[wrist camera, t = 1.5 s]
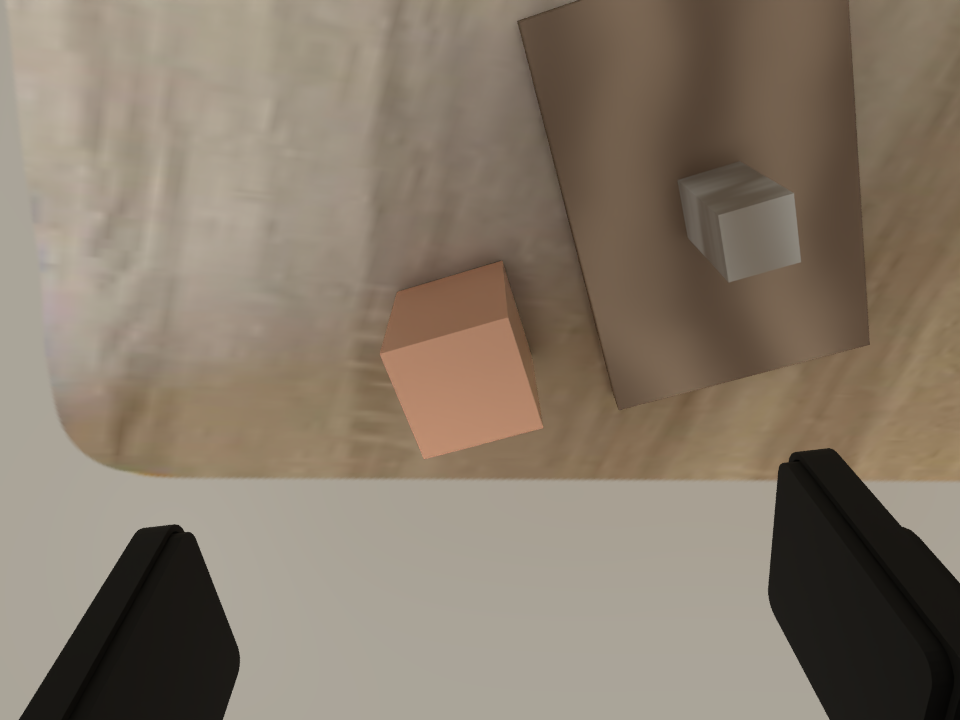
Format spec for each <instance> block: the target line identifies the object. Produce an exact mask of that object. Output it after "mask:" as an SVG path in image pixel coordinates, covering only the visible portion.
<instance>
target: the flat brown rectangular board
mask: <svg viewBox="0 0 960 720" xmlns="http://www.w3.org/2000/svg"><path fill="white" fill-rule="evenodd" d="M517 22H518V25H519V29H520V33H521V37H522V41H523V45H524V49H525V53H526V57H527V60H528V64H529V68H530V72H531V76H532V80H533V84H534V88H535V92H536V95H537V99H538V103H539V107H540V111H541V115H542V119H543V123H544V126H545V130H546V134H547V138H548V142H549V146H550V150H551V154H552V158H553V161H554V165H555V169H556V173H557V177H558V181H559V185H560V189H561V193H562V196H563V200H564V204H565V208H566V212H567V216H568V220H569V224H570V228H571V231H572V235H573V239H574V243H575V247H576V251H577V255H578V259H579V263H580V266H581V270H582V274H583V278H584V282H585V286H586V290H587V294H588V298H589V301H590V305H591V309H592V313H593V317H594V321H595V325H596V329H597V332H598V336H599V340H600V344H601V348H602V352H603V356H604V360H605V364H606V367H607V371H608V375H609V379H610V383H611V387H612V391H613V395H614V398H615V400H616V403H617V406H618V409H619V410H622V409H626V408H630V407H633V406H637V405H641V404H645V403H649V402H653V401H656V400H660V399H664V398H668V397H672V396H675V395H679V394H683V393H687V392H691V391H695V390H698V389H702V388H706V387H710V386H714V385H717V384H721V383H725V382H729V381H733V380H737V379H740V378H744V377H748V376H752V375H756V374H759V373H763V372H767V371H771V370H775V369H779V368H782V367H786V366H790V365H794V364H798V363H801V362H805V361H809V360H813V359H817V358H821V357H824V356H828V355H832V354H836V353H840V352H844V351H847V350H851V349H855V348H859V347H863V346H866V345H870V342H869V326H868V309H867V293H866V277H865V260H864V244H863V228H862V212H861V195H860V179H859V163H858V147H857V130H856V114H855V98H854V81H853V65H852V49H851V33H850V16H849V0H578V1H575V2H572V3H569V4H566V5H563V6H560V7H557V8H554V9H552V10H549V11H546V12H543V13H540V14H537V15H534V16H531V17H528V18H525V19H522V20H520V21H517Z"/></svg>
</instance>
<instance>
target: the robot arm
mask: <svg viewBox="0 0 960 720" xmlns="http://www.w3.org/2000/svg"><path fill="white" fill-rule="evenodd" d="M768 595H769V601H770V605H771V608H772V611H773V613H774V615H775V617H776V619H777V621H778V623H779V625H780V627H781V629H782V630H783V632H784V634H785V636H786V638H787V640H788V642H789V644H790V645H791V648H792V649H793V651H794V653H795V655H796V657H797V659H798V661H799V663H800V665H801V666H802V668H803V670H804V672H805V674H806V676H807V678H808V680H809V682H810V683H811V685H812V687H813V689H814V691H815V693H816V695H817V697H818V698H819V700H820V702H821V704H822V706H823V708H824V710H825V712H826V714H827V715H828V717H829V719H830V720H960V583H959V582H958V581H957V579H955V577H954V576H953V575H952V574H951V573H950V572H949V570H948V569H947V568H946V567H945V566H944V565H943V564H942V563H941V561H940V560H939V559H938V558H937V557H936V556H935V555H934V554H933V553H932V551H931V550H930V549H929V548H928V547H927V546H926V545H925V544H924V542H923V541H922V540H921V539H920V538H919V537H918V536H917V535H916V534H915V533H914V532H912V531H911V530H909V529H906V528H904V527H901V525H899V523H898V522H897V521H896V520H895V519H894V517H893V516H892V515H891V514H890V513H889V512H888V510H887V509H885V507H884V506H883V505H882V504H881V502H880V501H879V500H878V499H877V498H876V497H875V496H874V494H873V493H872V492H871V491H870V490H869V489H868V488H867V486H866V485H865V484H864V483H863V482H862V481H861V480H860V478H859V477H858V476H857V475H856V474H855V473H854V471H853V470H852V469H851V468H850V467H849V466H848V465H847V463H846V462H845V461H844V460H843V459H842V458H841V457H840V455H839V454H838V453H837V452H836V451H834V450H833V449H830V448H827V449H818V450H810V451H801V452H794V453H792V454H791V456H790V458H789V462H788V463H782V464H781V465H780V466H779V470H778V481H777V492H776V504H775V515H774V528H773V539H772V550H771V562H770V575H769V586H768ZM239 666H240V655H239V649H238V646H237V644H236V641H235V638H234V636H233V634H232V631H231V628H230V626H229V623H228V620H227V618H226V615H225V613H224V610H223V608H222V605H221V602H220V600H219V597H218V595H217V592H216V590H215V587H214V584H213V582H212V579H211V577H210V574H209V572H208V569H207V566H206V564H205V562H204V559H203V556H202V554H201V551H200V548H199V546H198V543H197V541H196V538H195V537H194V535H193V534H192V533H190V532H184V530H183V529H182V528H181V527H180V526H179V525H175V524H174V525H166V526H157V527H149V528H142V529H140V530H138V531H137V532H136V533H135V534H134V536H133V537H132V539H131V541H130V542H129V544H128V545H127V547H126V549H125V550H124V552H123V554H122V555H121V557H120V558H119V560H118V562H117V563H116V565H115V566H114V568H113V570H112V571H111V573H110V574H109V576H108V578H107V579H106V581H105V582H104V584H103V586H102V587H101V589H100V590H99V592H98V594H97V595H96V597H95V599H94V600H93V602H92V603H91V605H90V607H89V608H88V610H87V611H86V613H85V614H84V616H83V618H82V619H81V621H80V623H79V624H78V626H77V628H76V629H75V631H74V632H73V634H72V635H71V637H70V639H69V640H68V642H67V644H66V645H65V647H64V648H63V650H62V651H61V653H60V655H59V656H58V658H57V659H56V661H55V663H54V665H53V666H52V668H51V669H50V671H49V673H48V674H47V676H46V677H45V679H44V680H43V682H42V684H41V685H40V687H39V688H38V690H37V692H36V693H35V695H34V697H33V698H32V700H31V701H30V703H29V705H28V706H27V708H26V709H25V711H24V713H23V714H22V716H21V717H20V719H19V720H223V717H224V714H225V711H226V708H227V705H228V702H229V699H230V696H231V693H232V690H233V687H234V684H235V681H236V678H237V675H238V672H239Z"/></svg>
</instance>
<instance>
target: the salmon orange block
mask: <svg viewBox="0 0 960 720" xmlns="http://www.w3.org/2000/svg"><path fill="white" fill-rule="evenodd" d="M380 356H381V358H382V360H383V363H384V365H385V368H386V370H387V372H388V375H389V377H390V379H391V382H392V384H393V387H394V389H395V391H396V394H397V396H398V398H399V401H400V403H401V406H402V408H403V410H404V413H405V415H406V418H407V420H408V422H409V425H410V427H411V429H412V432H413V434H414V437H415V439H416V441H417V444H418V446H419V448H420V451H421V453H422V456H423V458H424V459H427V458H431V457H435V456H438V455H442V454H446V453H450V452H454V451H457V450H461V449H465V448H469V447H473V446H477V445H480V444H484V443H488V442H492V441H496V440H499V439H503V438H507V437H511V436H515V435H519V434H522V433H526V432H530V431H534V430H538V429H541V428H543V423H542V417H541V410H540V404H539V398H538V392H537V385H536V379H535V373H534V366H533V360H532V355H531V352H530V348H529V345H528V342H527V339H526V335H525V332H524V329H523V326H522V323H521V319H520V316H519V313H518V310H517V306H516V303H515V300H514V297H513V294H512V290H511V287H510V284H509V281H508V277H507V274H506V271H505V268H504V264H503V261H499V262H496V263H492V264H489V265H486V266H482V267H479V268H476V269H472V270H469V271H465V272H462V273H459V274H455V275H452V276H449V277H445V278H442V279H439V280H435V281H432V282H428V283H425V284H422V285H418V286H415V287H412V288H408V289H405V290H402V291H398V292H397V294H396V297H395V301H394V305H393V308H392V312H391V315H390V319H389V323H388V326H387V330H386V333H385V337H384V341H383V344H382V348H381V351H380Z"/></svg>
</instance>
